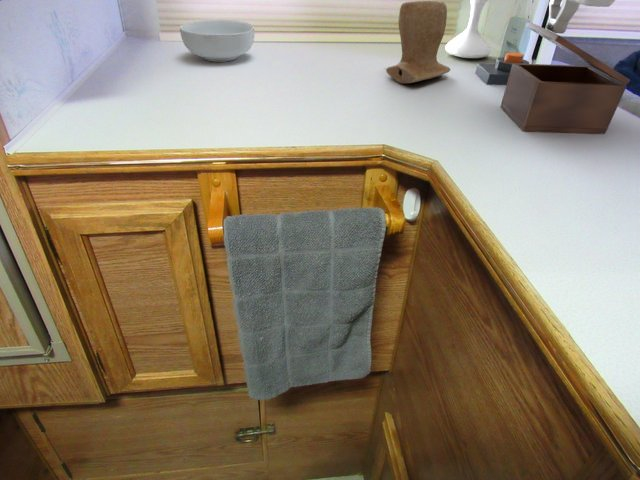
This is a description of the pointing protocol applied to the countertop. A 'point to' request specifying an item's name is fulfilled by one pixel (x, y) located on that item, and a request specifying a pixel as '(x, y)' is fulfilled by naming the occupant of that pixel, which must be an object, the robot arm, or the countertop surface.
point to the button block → (496, 71)
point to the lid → (577, 52)
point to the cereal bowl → (218, 39)
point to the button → (513, 57)
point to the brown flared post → (420, 41)
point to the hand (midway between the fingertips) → (554, 31)
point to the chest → (561, 98)
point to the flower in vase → (470, 37)
